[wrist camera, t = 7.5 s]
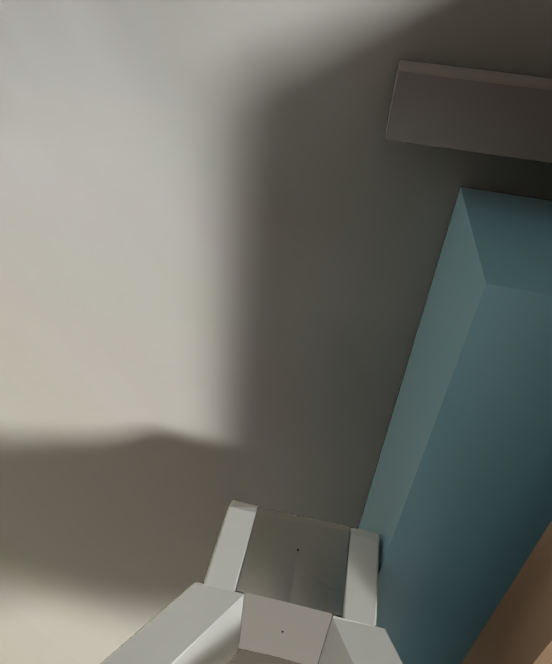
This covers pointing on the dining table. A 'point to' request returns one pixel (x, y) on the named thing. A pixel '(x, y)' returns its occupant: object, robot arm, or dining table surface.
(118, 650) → the robot arm
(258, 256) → the dining table surface
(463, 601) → the light blue flat block
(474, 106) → the low shelf
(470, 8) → the dining table surface
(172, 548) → the dining table surface
